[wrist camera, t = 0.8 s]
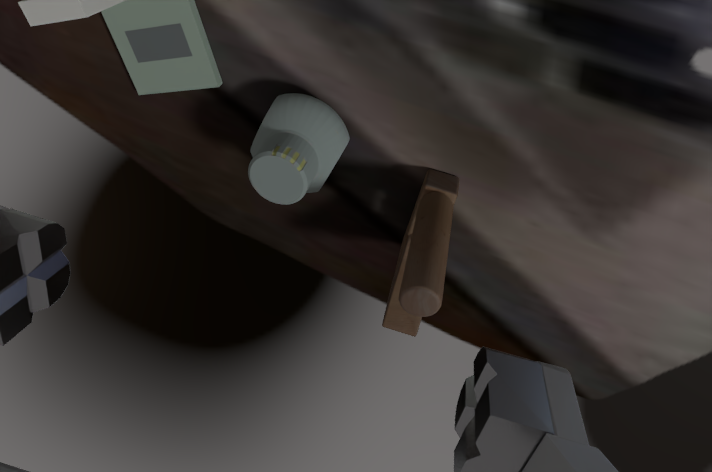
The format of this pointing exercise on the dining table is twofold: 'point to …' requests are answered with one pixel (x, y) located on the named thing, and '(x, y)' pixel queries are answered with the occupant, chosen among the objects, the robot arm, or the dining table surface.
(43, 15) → the domino
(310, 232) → the dining table surface
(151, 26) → the domino board
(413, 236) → the wooden block
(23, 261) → the robot arm
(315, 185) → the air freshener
